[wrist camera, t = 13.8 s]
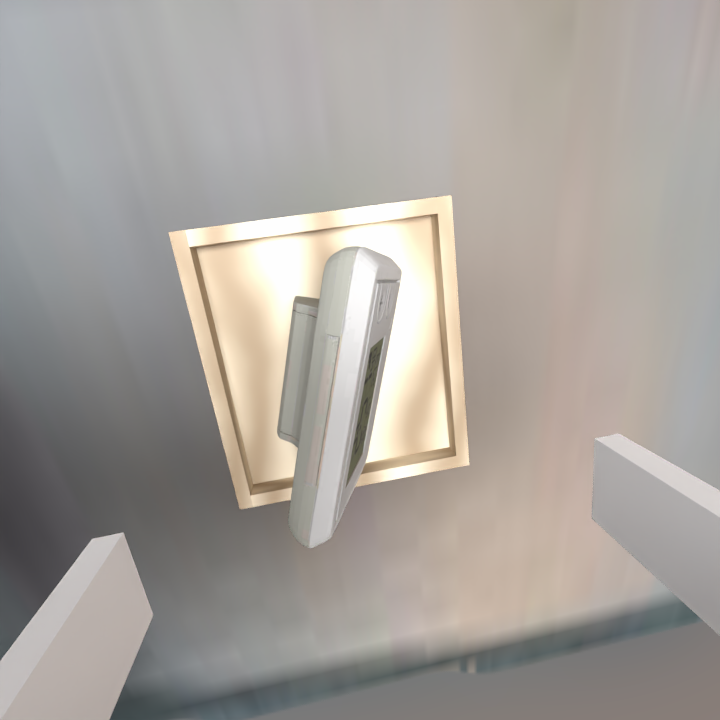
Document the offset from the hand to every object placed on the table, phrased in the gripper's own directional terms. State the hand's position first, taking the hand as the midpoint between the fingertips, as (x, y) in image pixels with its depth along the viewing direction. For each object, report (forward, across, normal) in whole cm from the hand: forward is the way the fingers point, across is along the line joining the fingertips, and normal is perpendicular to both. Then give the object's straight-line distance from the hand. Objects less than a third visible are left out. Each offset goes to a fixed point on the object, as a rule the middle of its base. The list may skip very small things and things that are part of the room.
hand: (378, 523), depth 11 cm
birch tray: (+20, 0, 0) cm, 20 cm away
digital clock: (+19, +1, -1) cm, 19 cm away
